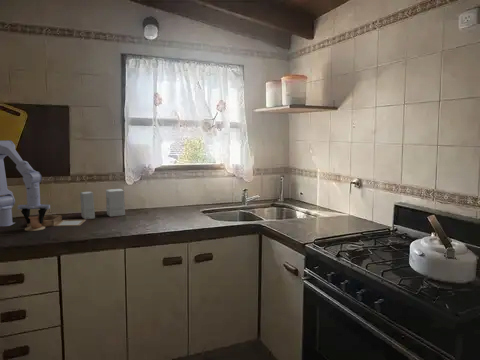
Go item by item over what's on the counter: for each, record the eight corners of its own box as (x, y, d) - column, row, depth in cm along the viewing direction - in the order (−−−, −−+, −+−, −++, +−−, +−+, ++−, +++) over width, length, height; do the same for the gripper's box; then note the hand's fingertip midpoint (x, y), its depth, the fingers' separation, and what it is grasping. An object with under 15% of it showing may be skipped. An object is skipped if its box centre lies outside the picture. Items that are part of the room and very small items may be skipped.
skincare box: (95, 218, 221) (94, 192, 219) (83, 219, 218) (82, 193, 216) (91, 216, 228) (90, 190, 226) (80, 217, 225) (79, 191, 223)
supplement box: (121, 212, 239) (121, 188, 237) (125, 215, 231) (124, 190, 229) (106, 214, 234) (105, 189, 232) (109, 216, 226) (108, 191, 225)
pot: (28, 229, 192) (26, 217, 191) (33, 225, 198) (30, 213, 196) (40, 228, 193) (38, 216, 192) (44, 224, 198) (42, 212, 197)
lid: (55, 227, 200) (54, 225, 200) (62, 221, 213) (62, 220, 213) (79, 226, 202) (79, 225, 202) (85, 221, 215) (85, 219, 214)
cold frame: (27, 227, 198) (26, 221, 198) (36, 222, 211) (36, 215, 211) (54, 227, 200) (53, 220, 200) (62, 221, 213) (61, 215, 212)
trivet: (21, 232, 190) (21, 230, 189) (29, 227, 198) (29, 225, 198) (41, 231, 191) (41, 229, 191) (47, 227, 200) (47, 225, 200)
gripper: (14, 197, 188) (15, 225, 189) (46, 197, 190) (47, 224, 191) (20, 195, 195) (21, 222, 196) (51, 195, 197) (52, 221, 198)
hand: (34, 223), depth 194 cm, fingers closed on pot, 5 cm apart
